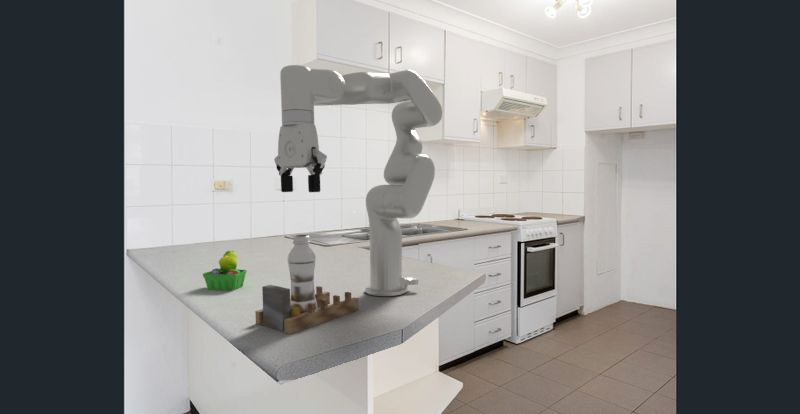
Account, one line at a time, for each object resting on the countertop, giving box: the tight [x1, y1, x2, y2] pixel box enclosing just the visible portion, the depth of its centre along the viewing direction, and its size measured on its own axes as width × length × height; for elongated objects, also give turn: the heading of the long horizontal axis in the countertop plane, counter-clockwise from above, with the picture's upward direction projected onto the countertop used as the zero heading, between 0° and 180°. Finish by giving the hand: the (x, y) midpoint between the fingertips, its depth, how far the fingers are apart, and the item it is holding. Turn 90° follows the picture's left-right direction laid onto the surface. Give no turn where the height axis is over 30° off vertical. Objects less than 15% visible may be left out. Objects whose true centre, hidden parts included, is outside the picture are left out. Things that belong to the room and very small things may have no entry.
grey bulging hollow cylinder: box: [287, 234, 318, 314], centre depth 104 cm, size 6×7×20 cm
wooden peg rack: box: [255, 284, 360, 335], centre depth 106 cm, size 22×12×9 cm, turn 143°
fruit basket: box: [202, 250, 248, 291], centre depth 137 cm, size 11×9×11 cm
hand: (300, 191), depth 105 cm, fingers open, 9 cm apart
